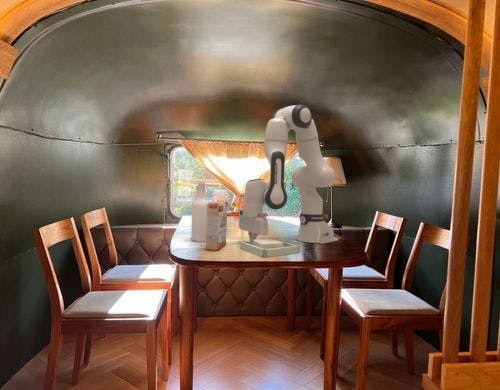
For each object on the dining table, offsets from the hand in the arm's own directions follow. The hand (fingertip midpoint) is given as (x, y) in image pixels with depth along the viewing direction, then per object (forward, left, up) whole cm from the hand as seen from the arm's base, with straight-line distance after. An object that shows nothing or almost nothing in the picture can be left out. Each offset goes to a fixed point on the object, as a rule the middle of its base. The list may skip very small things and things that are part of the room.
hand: (252, 241), depth 164 cm
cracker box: (+18, -2, -2) cm, 18 cm away
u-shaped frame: (0, +14, -2) cm, 14 cm away
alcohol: (+18, -20, -2) cm, 27 cm away
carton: (+2, +15, -2) cm, 15 cm away
